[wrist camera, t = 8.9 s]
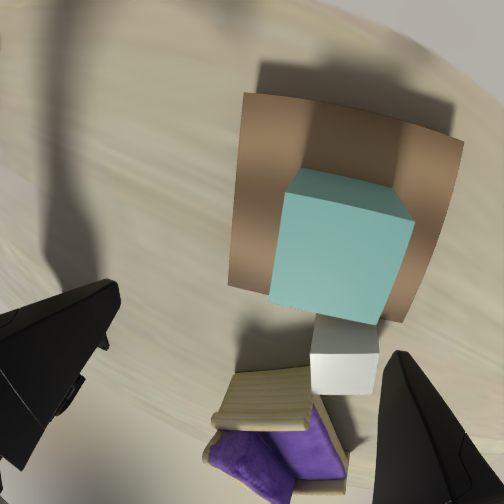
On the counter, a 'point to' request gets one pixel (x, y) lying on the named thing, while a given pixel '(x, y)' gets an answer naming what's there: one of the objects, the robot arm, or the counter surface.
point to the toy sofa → (277, 437)
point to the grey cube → (343, 356)
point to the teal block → (339, 246)
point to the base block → (340, 163)
